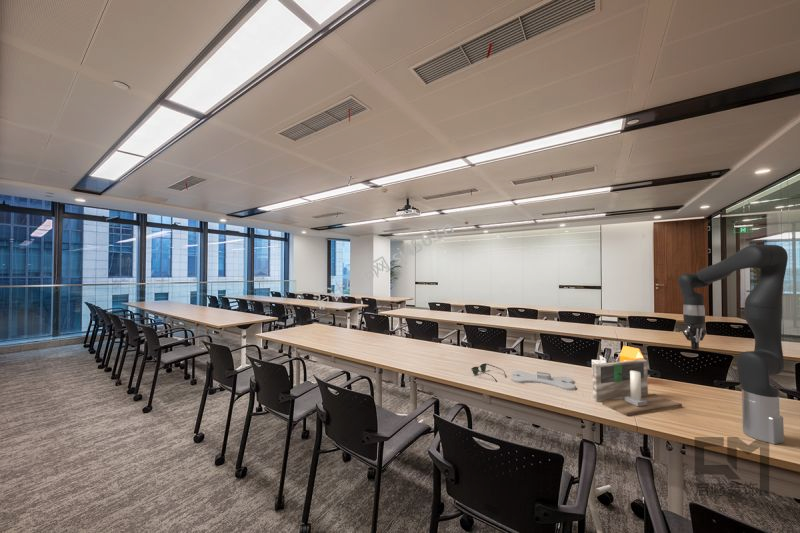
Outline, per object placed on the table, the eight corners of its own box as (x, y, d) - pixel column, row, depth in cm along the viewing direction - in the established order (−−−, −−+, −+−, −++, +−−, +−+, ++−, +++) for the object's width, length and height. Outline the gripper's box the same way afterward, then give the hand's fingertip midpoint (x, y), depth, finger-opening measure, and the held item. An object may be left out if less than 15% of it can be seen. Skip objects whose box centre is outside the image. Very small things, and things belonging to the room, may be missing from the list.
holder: (576, 392, 156) (576, 383, 156) (510, 382, 171) (510, 374, 171) (572, 380, 174) (572, 372, 174) (512, 372, 188) (512, 364, 188)
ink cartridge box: (591, 378, 175) (590, 354, 176) (600, 379, 174) (600, 354, 175) (598, 384, 167) (597, 358, 167) (607, 384, 166) (607, 359, 166)
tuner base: (681, 407, 138) (680, 369, 138) (627, 416, 129) (626, 375, 130) (643, 392, 154) (642, 359, 154) (593, 400, 146) (592, 364, 146)
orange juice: (628, 377, 177) (627, 344, 178) (644, 382, 169) (643, 348, 169) (619, 379, 174) (619, 346, 175) (636, 384, 166) (635, 349, 167)
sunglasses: (494, 383, 169) (494, 375, 169) (470, 376, 182) (470, 368, 182) (509, 377, 179) (509, 369, 179) (485, 370, 192) (485, 362, 192)
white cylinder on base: (647, 404, 136) (646, 373, 137) (637, 406, 135) (637, 374, 135) (624, 395, 147) (623, 366, 147) (615, 396, 145) (614, 367, 146)
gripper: (693, 315, 136) (695, 352, 135) (713, 314, 139) (714, 350, 139) (675, 313, 143) (676, 348, 143) (694, 312, 147) (695, 346, 146)
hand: (695, 349), depth 141 cm, fingers closed
